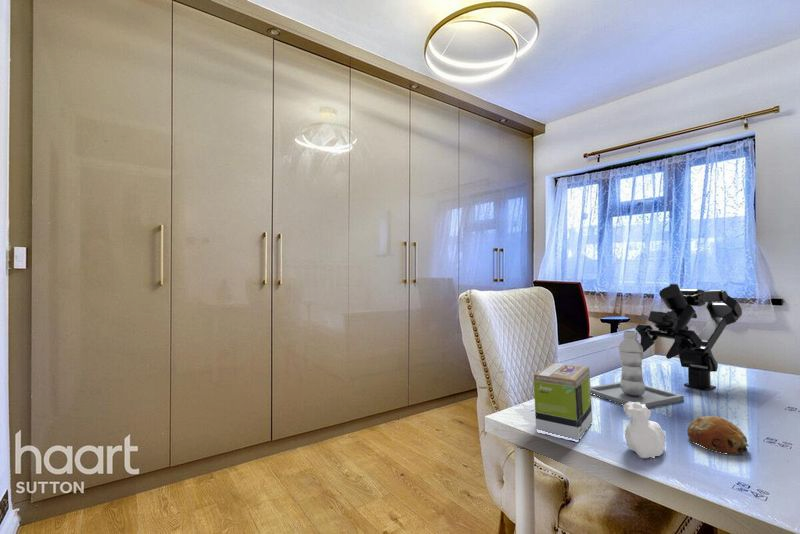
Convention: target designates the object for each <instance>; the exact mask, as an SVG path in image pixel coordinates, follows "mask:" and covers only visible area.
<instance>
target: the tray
mask: <svg viewBox="0 0 800 534" xmlns="http://www.w3.org/2000/svg"><path fill="white" fill-rule="evenodd" d="M590 388H591V393H592V394H595V395H598V396H600V397H603V398H605V399H608V400H611V401H613V402H612V403H614V402H616V403H615V404H617V403H619V404H618V405H620V404H623V405H624V404H626V403H627V402H630V401H631V402H635V403H636V402H639V403H640V404H641V405H642V404H646V407H647V408H649V409H653V408H657V407H663V406H667V405H672V404H676V403H677V404H678V403H682V402H684V401H685V396H684V395H682V394H679V393H674V392H671V391H667V390H664V389H660V388H658V387H652V386H649V385H645V393H644V394H643V395H642V396H632V395H628V394H625V393H623V392H622V390H621V387H620V381H617V382H612V383H606V384H600V385H593V386H590ZM605 399H604V400H605ZM608 400H607V401H608ZM611 401H610V402H611ZM623 405H622V406H623ZM652 407H653V408H652Z"/></svg>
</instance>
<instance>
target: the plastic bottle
mask: <svg viewBox="0 0 800 534" xmlns="http://www.w3.org/2000/svg"><path fill="white" fill-rule="evenodd" d="M622 337H623V338H624V339H623V340H622V341H620V343H619V345H618V353H619V356H620V364H621V365H620V366H621V375H620V376H621V377H620V381H619V382H620V387H621V390H622V392H623V393H625V394H628V395H632V396H642V395H643V394H644V393H645V386H646V384H645V381H644V376H643V370H642V369H643V367H642V365H643V355H644V352H643V348H642V346H641V344H640V343H641V342H639V340H638V338H639V336H638V332H637V331H636V330H623V335H622Z"/></svg>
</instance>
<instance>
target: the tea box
mask: <svg viewBox="0 0 800 534" xmlns="http://www.w3.org/2000/svg"><path fill="white" fill-rule="evenodd" d="M590 373H591V372H590V366H583V365H582V366H581V365H574V364H573V365H572V364H564V363H555V362H551V363H549V364H547V366H544V367H543V368H541V369H540V370H539V371H537V372H536V373H534V374H533V388H534V392H533V394H534V395H533V396H534V411H535V412H534V413H535V414H534V415H535V430H536V429H538V430H542V431H545V432H548V433H552V434H556V435H560V436H564V437H568V438H572V439H575V440H579V439H580V437H581V436H582V435H583V433H584V432H585V431H586V430H587V431H588V429H589V428H590V427H591V425H592V424H591V423H593V422H592V421H593V407H592V404H593V403H592V395H591V388H590V387H591V377H590V376H591V375H590ZM590 424H591V425H590ZM589 426H590V427H589ZM588 427H589V428H588ZM587 428H588V429H587ZM587 431H586V432H587ZM586 432H585V433H586ZM583 436H584V435H583ZM583 436H582V437H583ZM580 440H581V439H580Z"/></svg>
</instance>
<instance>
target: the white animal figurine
mask: <svg viewBox="0 0 800 534" xmlns="http://www.w3.org/2000/svg"><path fill="white" fill-rule="evenodd" d="M622 406H623V405H622ZM622 408H623V412H624V413H625V415H626V416H627V417H628V419H630V418H631V420H630V422H629V424H627V425H626V428H625V430H624V432H625V433H624V438H625V442H626V446H627V447H628V448H629V449H630V450H631V451H633V452H635V453H636V454H637V456H638V457H639V458H641V459H650V458H649V457H655V456H658V457H659V456H661V455H663V453H664V448H665V446H666V434H665V432H664V431H663V429H662V427H661V426H660V424H659V423H658V422H656V421H654V420H653V421H652V420H649V419H650V417H651V416H652V412H651V410H650V408H649V409H648V408H647V407H646V404H642V405H641V404H640V403H639V402H636V403H635V402H631V401H630V402H627V403H626V404H624V406H623V407H622Z"/></svg>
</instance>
